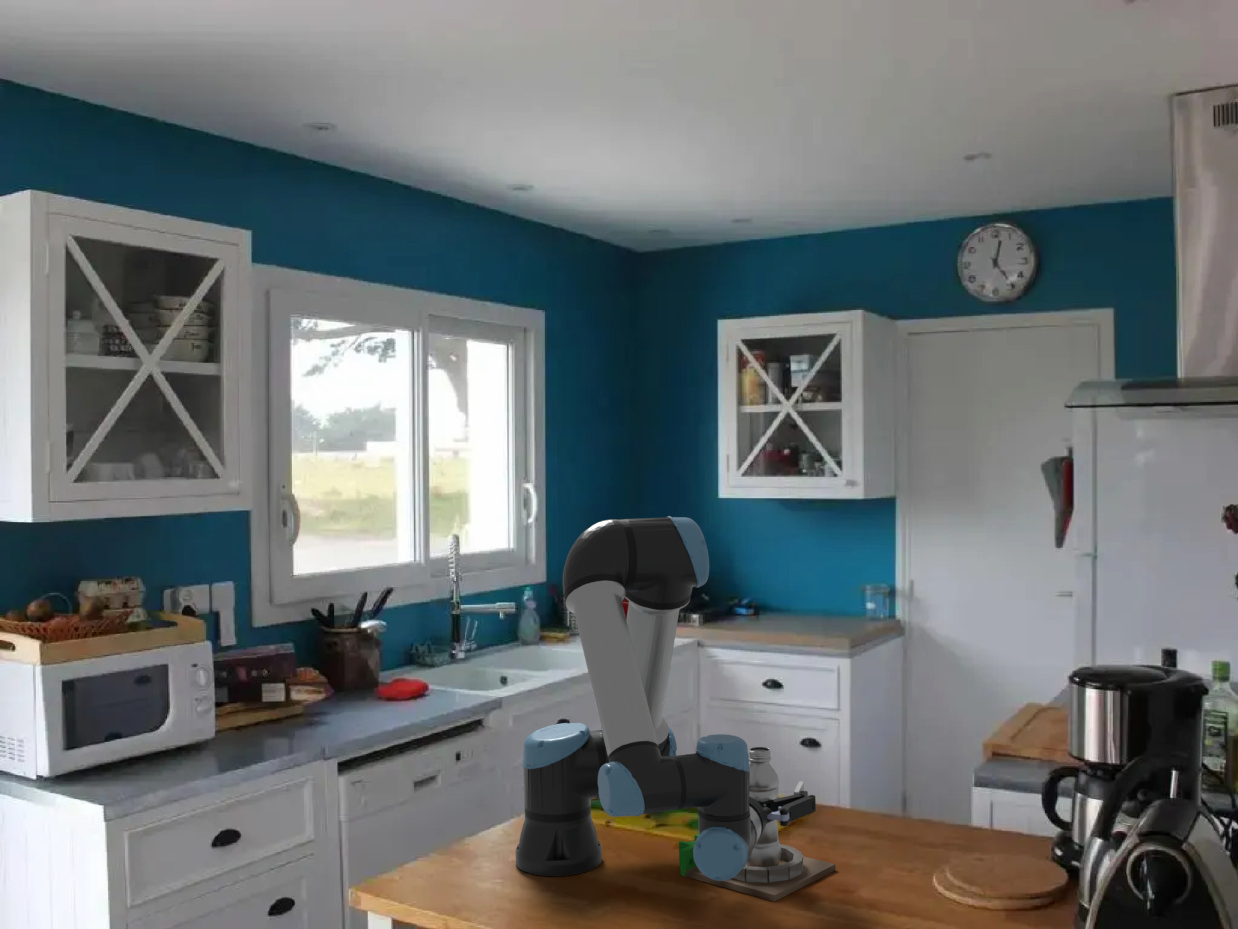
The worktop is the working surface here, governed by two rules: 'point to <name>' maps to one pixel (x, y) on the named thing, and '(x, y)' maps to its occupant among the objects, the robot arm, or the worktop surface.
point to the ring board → (773, 887)
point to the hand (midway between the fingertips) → (761, 787)
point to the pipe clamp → (686, 855)
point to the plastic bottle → (765, 787)
